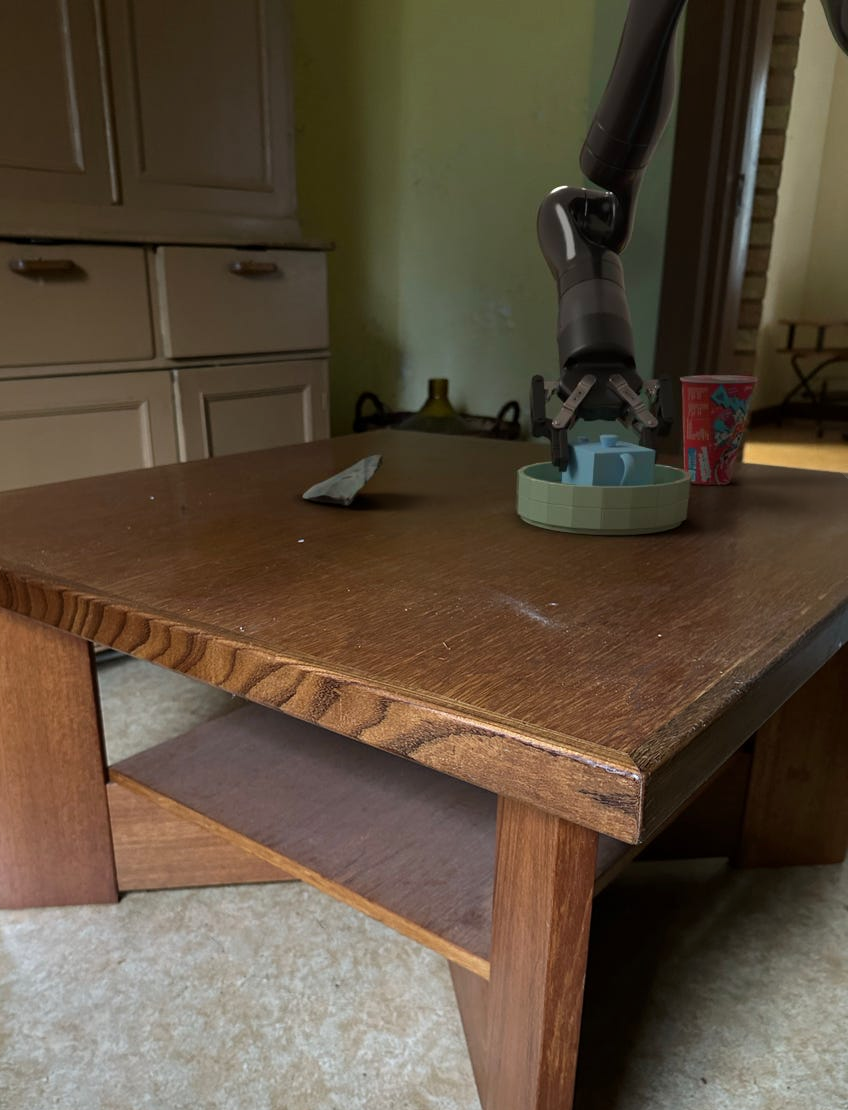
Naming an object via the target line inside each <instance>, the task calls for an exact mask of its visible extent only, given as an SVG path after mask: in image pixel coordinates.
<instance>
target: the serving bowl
mask: <svg viewBox="0 0 848 1110" xmlns="http://www.w3.org/2000/svg"><path fill="white" fill-rule="evenodd" d="M691 479H692V474H691V473H689V472H688V471H686V470H684V468H680V467H676V466H674V465H673V466H672V465H668V464H662V463H656V464H655V466H654V473H653V484H652V485H638V486H592V485H575V484H566V483H562V472H559V468H558V467H554V466H553V464H552V461H551V460H550V461H545V462H544V461H543V462H537V463H533V464H528V465H525V466H522V467H520V468H518V470H517V471H516V495H515V510H516V512H517V514H518V516H520V519H521V520H522V521H524V522H525V523H527V524H528V525H532V526H534V527H538V528H541V529H546V530H550V531H555V532H560V533H562V532H563V533H569V534H578V535H592V536H636V535H637V536H638V535H646V534H655V533H662V532H666V531H670V530H672V529H675V528H677V527H679V526H680V525H682V523H683V521H685V520H687V518H688V515H689V506H690V498H691V488H692V483H691Z"/></svg>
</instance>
